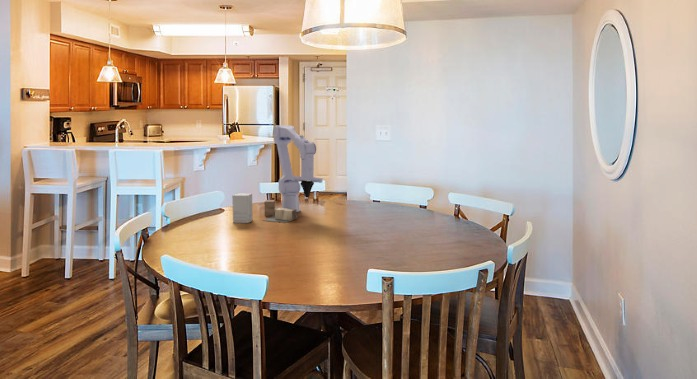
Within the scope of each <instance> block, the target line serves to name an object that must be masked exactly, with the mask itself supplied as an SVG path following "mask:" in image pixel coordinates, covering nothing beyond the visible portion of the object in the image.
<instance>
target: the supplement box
mask: <svg viewBox="0 0 697 379" xmlns="http://www.w3.org/2000/svg"><path fill="white" fill-rule="evenodd" d="M231 198H232V199H231V200H232V223H233V224H249V223H251V222H252V221H253V220H254V219H253V217H254V216H253V214H254V213H253V193H243V192H242V193H241V192H238V193H235V194H233V195H232V197H231Z"/></svg>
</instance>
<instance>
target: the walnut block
mask: <svg viewBox="0 0 697 379" xmlns="http://www.w3.org/2000/svg"><path fill="white" fill-rule="evenodd" d="M275 202H276V200H275V199H265V200H264V217H269V216H270V217H272V216H275V209H276V203H275Z"/></svg>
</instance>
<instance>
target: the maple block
mask: <svg viewBox="0 0 697 379" xmlns="http://www.w3.org/2000/svg"><path fill="white" fill-rule="evenodd" d="M274 216H275V219H281V220H291V221H294V220H296V219H297V218H296V217H297V212H296V209H286V208H282V207H278V208H275V215H274Z"/></svg>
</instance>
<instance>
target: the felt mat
mask: <svg viewBox="0 0 697 379" xmlns="http://www.w3.org/2000/svg"><path fill="white" fill-rule="evenodd" d="M297 218H299V216H296V219H297ZM262 221H264V222H273V223H283V224H285V223H289V222H291V221H292V220H281V219H275V215H274V216H270V217H267V218H264V219H262Z"/></svg>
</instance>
